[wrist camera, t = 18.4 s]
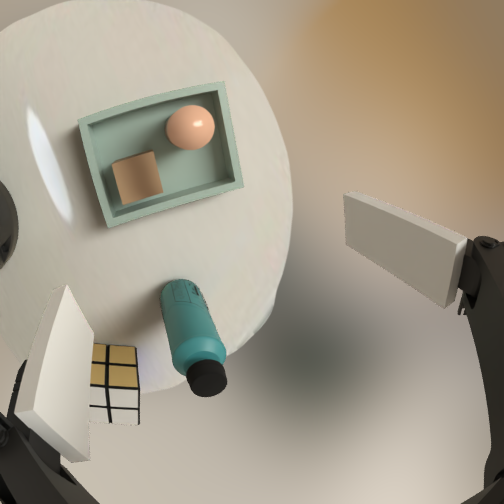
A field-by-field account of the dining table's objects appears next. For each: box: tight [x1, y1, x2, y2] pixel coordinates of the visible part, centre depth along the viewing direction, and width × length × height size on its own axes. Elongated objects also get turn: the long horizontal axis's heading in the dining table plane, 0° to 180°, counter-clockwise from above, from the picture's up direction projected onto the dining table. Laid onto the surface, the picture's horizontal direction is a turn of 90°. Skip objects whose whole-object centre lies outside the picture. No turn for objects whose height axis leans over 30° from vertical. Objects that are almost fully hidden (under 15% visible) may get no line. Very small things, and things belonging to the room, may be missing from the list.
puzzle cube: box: [89, 343, 140, 425], centre depth 41 cm, size 10×10×10 cm
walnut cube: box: [112, 149, 164, 205], centre depth 33 cm, size 5×5×5 cm
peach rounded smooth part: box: [164, 105, 215, 150], centre depth 32 cm, size 5×5×7 cm
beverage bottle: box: [159, 279, 227, 397], centre depth 36 cm, size 6×7×20 cm
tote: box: [78, 81, 244, 228], centre depth 34 cm, size 18×14×4 cm
